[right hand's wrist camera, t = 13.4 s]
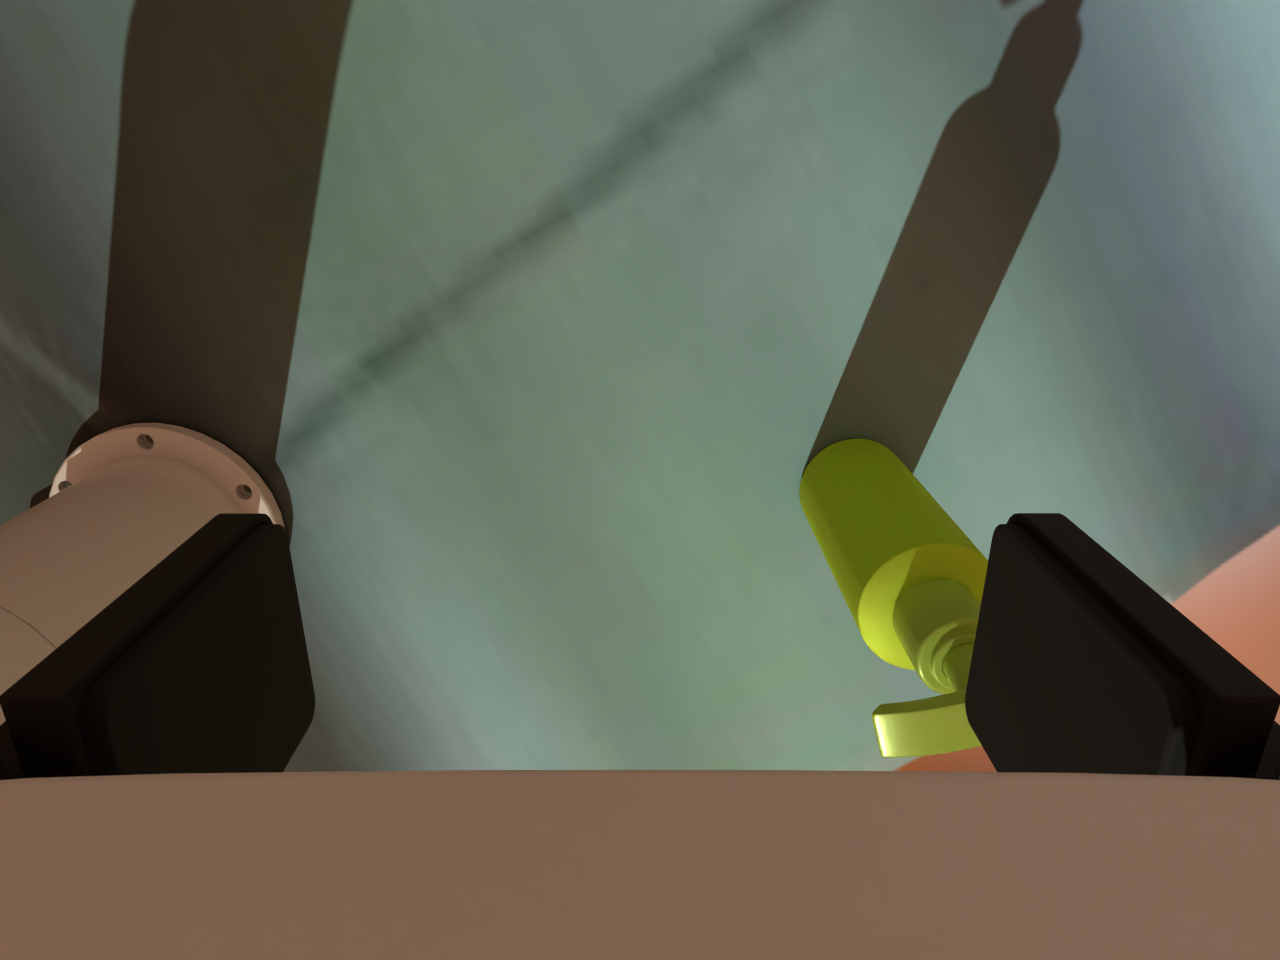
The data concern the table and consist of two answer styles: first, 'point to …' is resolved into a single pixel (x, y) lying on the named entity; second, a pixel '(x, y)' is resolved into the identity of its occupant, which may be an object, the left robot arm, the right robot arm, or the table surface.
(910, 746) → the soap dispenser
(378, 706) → the table surface
